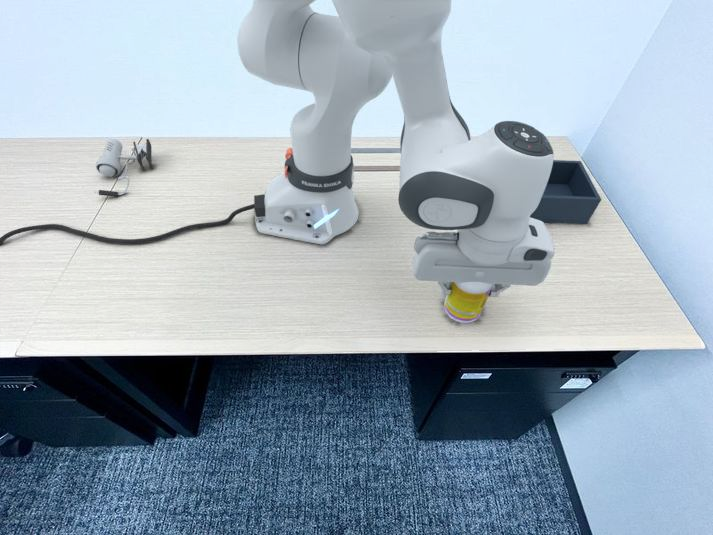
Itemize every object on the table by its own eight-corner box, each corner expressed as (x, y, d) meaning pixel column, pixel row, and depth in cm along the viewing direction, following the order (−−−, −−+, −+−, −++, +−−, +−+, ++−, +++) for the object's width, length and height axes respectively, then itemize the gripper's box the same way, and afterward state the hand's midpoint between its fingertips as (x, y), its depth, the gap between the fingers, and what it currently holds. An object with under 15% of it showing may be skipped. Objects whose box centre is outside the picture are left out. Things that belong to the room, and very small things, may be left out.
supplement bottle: (479, 328, 69) (499, 281, 59) (441, 320, 70) (454, 273, 60) (481, 298, 73) (500, 250, 63) (445, 291, 74) (458, 242, 65)
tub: (523, 221, 87) (534, 197, 82) (511, 183, 96) (520, 158, 90) (586, 224, 86) (601, 199, 81) (568, 185, 95) (580, 160, 90)
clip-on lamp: (146, 205, 94) (157, 149, 103) (137, 188, 89) (149, 130, 97) (92, 205, 93) (108, 148, 101) (79, 187, 87) (97, 128, 95)
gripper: (417, 247, 55) (407, 305, 66) (567, 253, 55) (533, 311, 65) (415, 217, 59) (406, 276, 70) (554, 222, 59) (524, 281, 69)
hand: (468, 293), depth 67 cm, fingers closed on supplement bottle, 6 cm apart
